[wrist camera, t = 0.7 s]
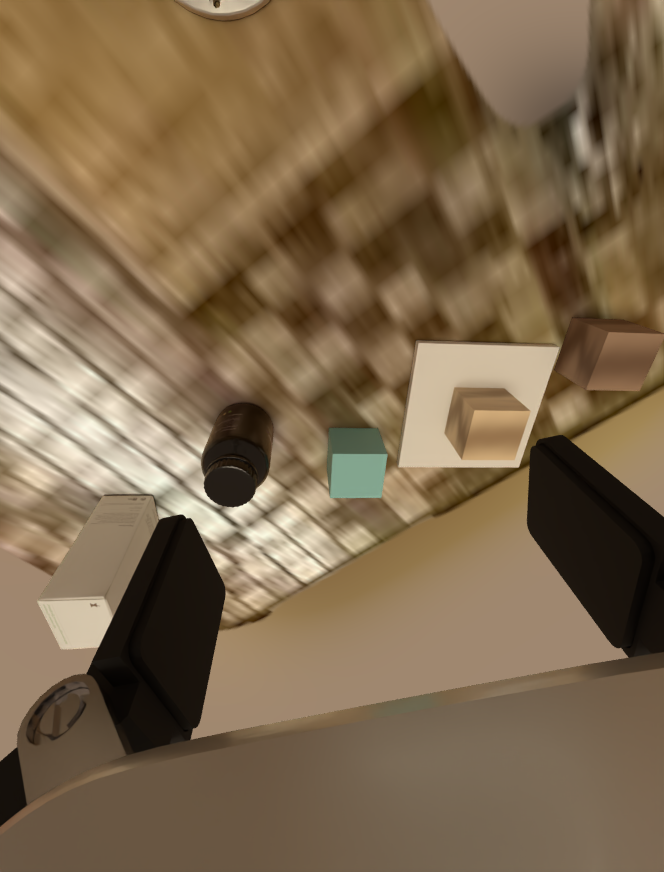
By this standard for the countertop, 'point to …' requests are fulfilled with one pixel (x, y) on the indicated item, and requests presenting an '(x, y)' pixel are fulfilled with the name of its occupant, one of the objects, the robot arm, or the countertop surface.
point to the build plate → (467, 368)
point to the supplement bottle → (237, 454)
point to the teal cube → (355, 463)
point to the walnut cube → (608, 354)
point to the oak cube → (485, 423)
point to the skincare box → (98, 570)
